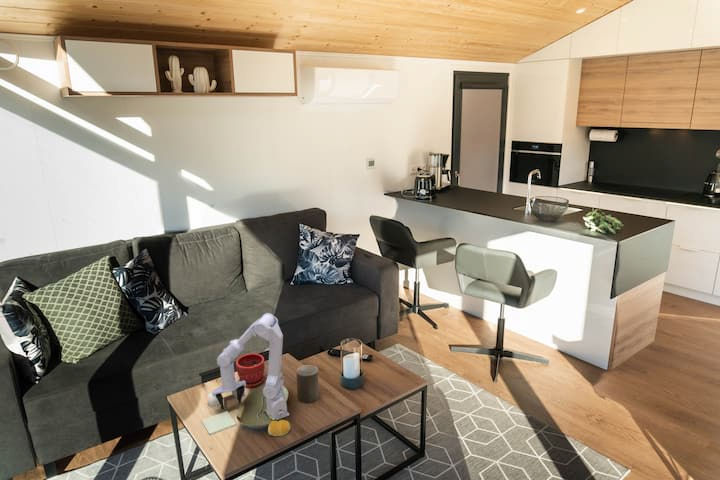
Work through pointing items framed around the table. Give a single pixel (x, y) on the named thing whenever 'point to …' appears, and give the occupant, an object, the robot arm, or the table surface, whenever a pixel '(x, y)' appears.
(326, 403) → the table surface
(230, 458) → the table surface
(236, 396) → the grey metal block
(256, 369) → the plant pot
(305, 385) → the pillar candle
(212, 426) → the plate
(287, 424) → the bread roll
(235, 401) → the walnut block
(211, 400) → the white rounded dome
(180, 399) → the table surface
